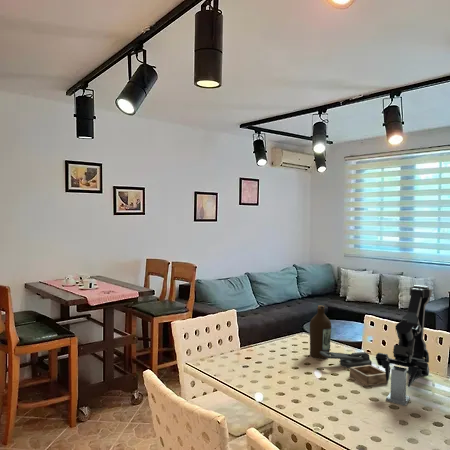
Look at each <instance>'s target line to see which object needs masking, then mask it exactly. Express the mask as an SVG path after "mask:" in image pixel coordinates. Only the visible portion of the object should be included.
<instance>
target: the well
mask: <svg viewBox="0 0 450 450" xmlns="http://www.w3.org/2000/svg"><path fill="white" fill-rule="evenodd" d="M349 377H351V378H352V379H354V380H356V381H357V382H360V383H361V384H363V385H365V386H373V385H380V384H386V383H389V381H388V382H387V381H386V373H385V370H381V369H379V368H377V367H375V366H373V364H372V365H365V366H357V367H350V368H349Z"/></svg>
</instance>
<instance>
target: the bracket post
mask: <svg viewBox="0 0 450 450" xmlns="http://www.w3.org/2000/svg"><path fill="white" fill-rule="evenodd" d="M407 370H408V367H403V366H398V365H397V366H396V365H394V366H393V367H391V369H390V391H389V393H388V395H386V398H385V401H386V402H389V403H393V404H397V405H400V406H407V405H408V403H409V402H410V400H411V396H409V395H407Z"/></svg>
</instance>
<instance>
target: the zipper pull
mask: <svg viewBox="0 0 450 450" xmlns="http://www.w3.org/2000/svg"><path fill="white" fill-rule="evenodd" d="M320 354H321V355H323V356H325V357H327V358H326V359H336V360H339V365H340V366H341V367H342V368H346V369H350V367H357V366H365V365H372V366H373V363H372V362H373V361H372V360H371V358H370V354H369V353H368V352H366V351H358V352H352V353H341V352H332V351H330V352H324V351H320Z"/></svg>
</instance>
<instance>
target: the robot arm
mask: <svg viewBox="0 0 450 450" xmlns="http://www.w3.org/2000/svg"><path fill="white" fill-rule="evenodd" d="M432 291H433V289H432V288H430V286H428V285H418V284H414V285H413V286H410V287H409V296H410V298H409V303H408V307H407V311H406V313H405V314H404V315H403V316H402V317H401V321H399V322H397V323H396V324H395V331H396V335H397V338H398V343H397V344H394V345H393V351H392V354H393V358H390V357H389V355H388V353H382V352H378V353H376V355H375V360H376V363H377V365H378V366H381V367H382V368H383V369H384V372H385V373H386V381H387V382H388V383H389V380H390V376H391V369H392V367H391V365H394V366H396V365H397V366H399V367H403V368H407V373H408V374H409V379H408V383H407V387H408V388H410V387H411V386H412V385H413V383H414V382H415V381H416V380H418V378H419V377H424V376H430V375H429V374H430V367H429V363H430V355H429V354H430V353H429V352H428V351H429V350H428V349H427V344H426V342H425V339H424V327H425V314H426V306H427V304H428V303H429V302H430V300H431V297H432V295H433V294H432V293H433V292H432Z"/></svg>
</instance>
